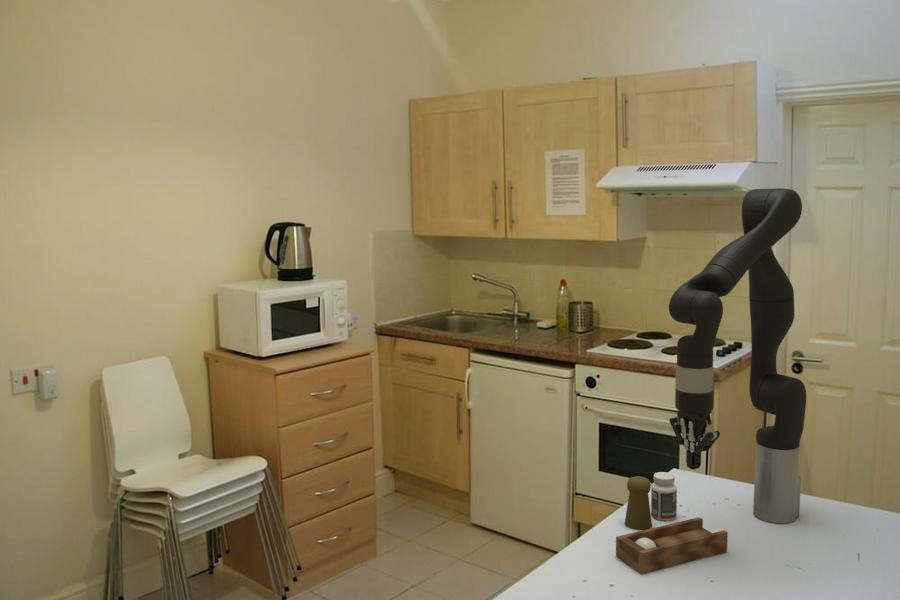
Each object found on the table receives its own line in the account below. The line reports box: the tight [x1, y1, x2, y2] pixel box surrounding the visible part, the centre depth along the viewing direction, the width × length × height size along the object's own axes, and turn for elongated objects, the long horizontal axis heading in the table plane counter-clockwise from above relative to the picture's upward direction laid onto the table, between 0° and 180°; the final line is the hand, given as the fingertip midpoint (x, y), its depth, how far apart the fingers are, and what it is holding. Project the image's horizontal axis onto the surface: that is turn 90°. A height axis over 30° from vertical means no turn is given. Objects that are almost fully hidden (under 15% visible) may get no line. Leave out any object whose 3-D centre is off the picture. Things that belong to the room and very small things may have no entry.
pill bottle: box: [650, 471, 678, 522], centre depth 182 cm, size 6×6×10 cm
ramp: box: [615, 517, 729, 575], centre depth 163 cm, size 22×8×4 cm, turn 114°
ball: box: [635, 538, 656, 549], centre depth 161 cm, size 5×5×5 cm
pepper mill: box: [624, 475, 653, 531], centre depth 178 cm, size 6×6×11 cm
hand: (693, 467), depth 163 cm, fingers closed
